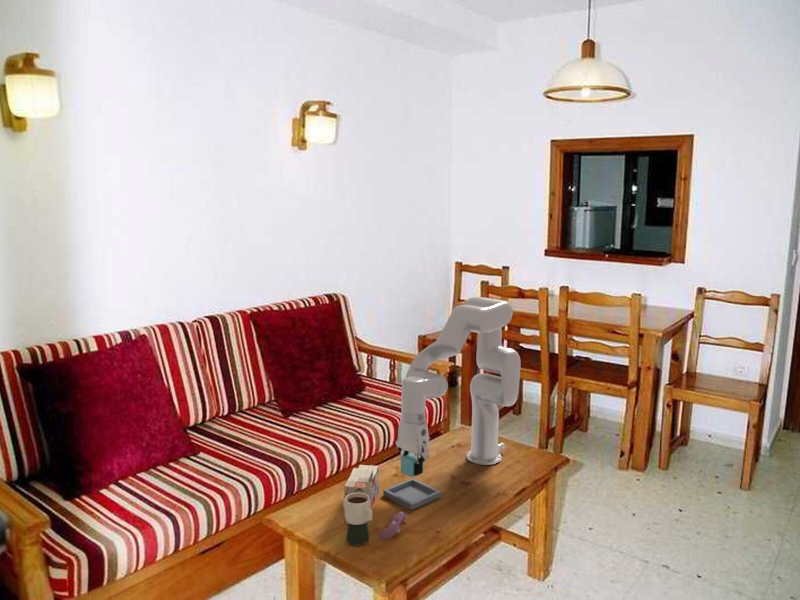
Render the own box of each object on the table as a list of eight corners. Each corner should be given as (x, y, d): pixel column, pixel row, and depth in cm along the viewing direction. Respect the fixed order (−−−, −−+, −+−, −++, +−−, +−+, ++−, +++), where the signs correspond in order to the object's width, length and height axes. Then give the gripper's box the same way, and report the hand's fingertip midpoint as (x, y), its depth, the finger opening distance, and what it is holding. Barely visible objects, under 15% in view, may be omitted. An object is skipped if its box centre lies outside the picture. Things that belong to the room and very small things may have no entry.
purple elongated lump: (390, 547, 182) (401, 528, 180) (376, 537, 183) (387, 519, 181) (401, 530, 191) (412, 512, 189) (388, 521, 192) (399, 503, 190)
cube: (412, 467, 210) (412, 452, 209) (423, 472, 206) (423, 457, 205) (400, 471, 206) (400, 457, 206) (411, 477, 203) (411, 461, 202)
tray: (412, 483, 217) (412, 477, 217) (441, 497, 208) (441, 491, 207) (383, 495, 208) (383, 489, 208) (411, 510, 199) (411, 504, 199)
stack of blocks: (359, 491, 212) (359, 455, 210) (378, 492, 211) (379, 456, 209) (344, 524, 191) (344, 485, 189) (365, 526, 190) (365, 487, 188)
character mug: (380, 543, 181) (380, 499, 179) (362, 553, 176) (362, 509, 173) (353, 529, 188) (352, 487, 186) (334, 539, 183) (334, 496, 180)
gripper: (441, 421, 200) (439, 476, 203) (403, 407, 212) (402, 459, 215) (423, 426, 195) (422, 483, 198) (386, 412, 207) (385, 466, 210)
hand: (411, 470), depth 206 cm, fingers closed on cube, 4 cm apart
